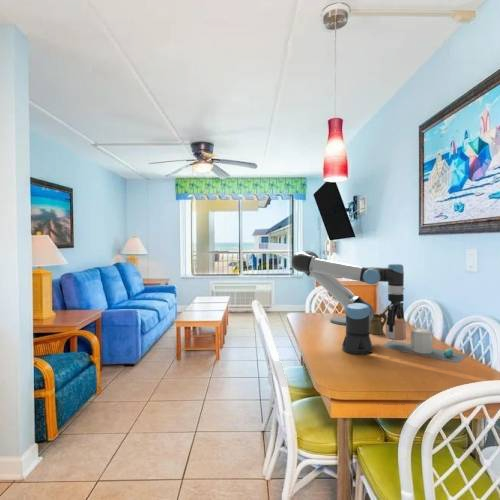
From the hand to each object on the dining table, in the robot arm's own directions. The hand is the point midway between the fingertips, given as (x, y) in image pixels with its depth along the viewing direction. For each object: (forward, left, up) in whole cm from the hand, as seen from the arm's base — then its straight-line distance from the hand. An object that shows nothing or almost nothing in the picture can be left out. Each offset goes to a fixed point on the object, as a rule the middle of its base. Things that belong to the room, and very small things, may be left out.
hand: (395, 336), depth 180 cm
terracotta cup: (0, 0, -1) cm, 1 cm away
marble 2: (+2, -25, -3) cm, 25 cm away
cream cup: (0, -13, -5) cm, 14 cm away
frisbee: (+37, +47, -7) cm, 60 cm away
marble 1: (-2, -25, -3) cm, 25 cm away
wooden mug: (+24, +20, -6) cm, 32 cm away
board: (0, -13, -6) cm, 14 cm away
